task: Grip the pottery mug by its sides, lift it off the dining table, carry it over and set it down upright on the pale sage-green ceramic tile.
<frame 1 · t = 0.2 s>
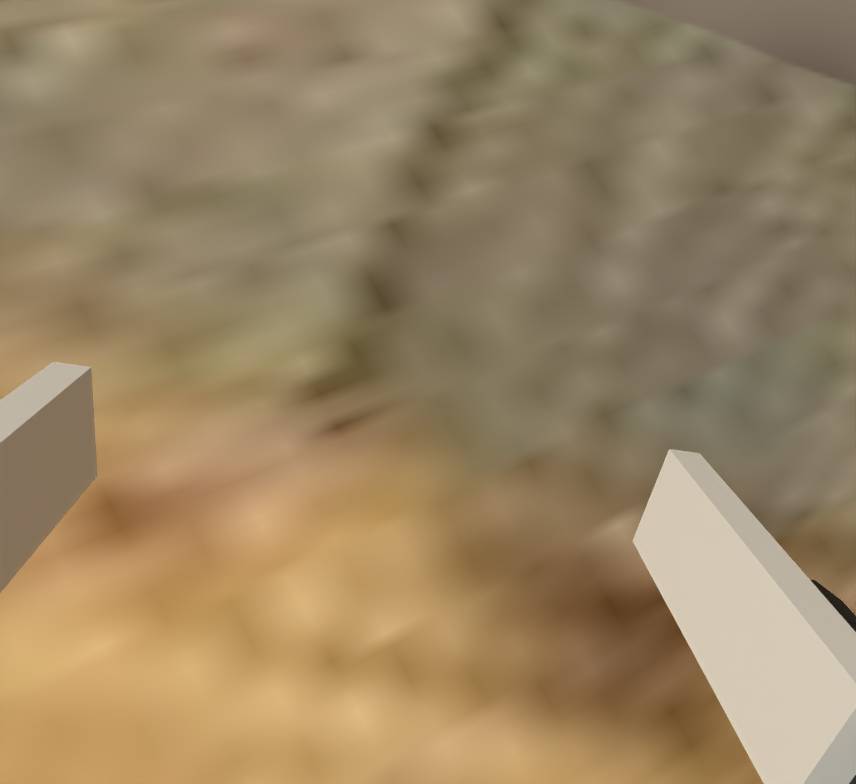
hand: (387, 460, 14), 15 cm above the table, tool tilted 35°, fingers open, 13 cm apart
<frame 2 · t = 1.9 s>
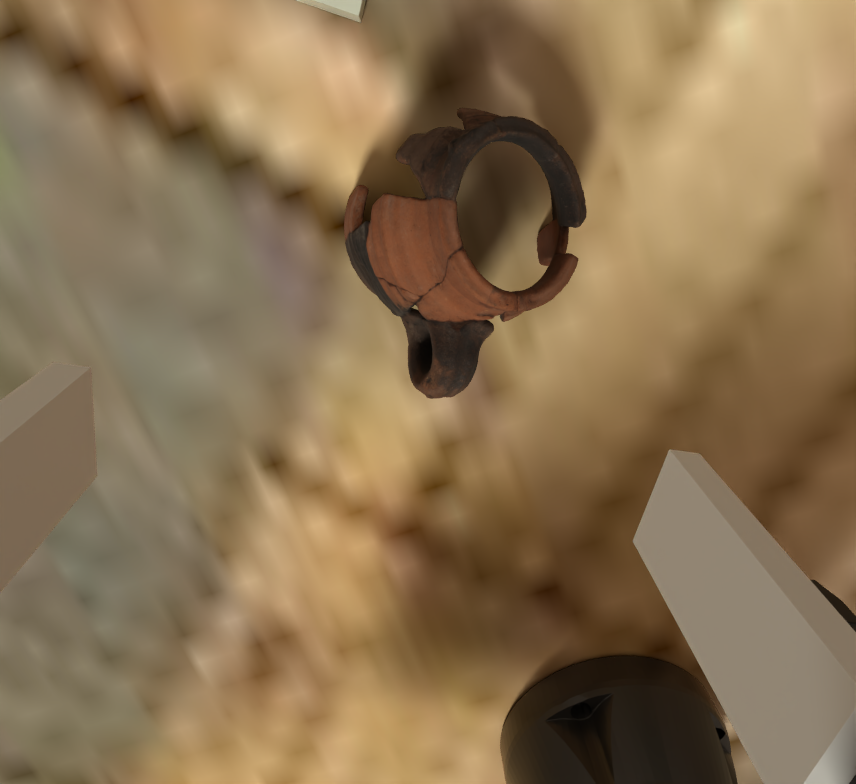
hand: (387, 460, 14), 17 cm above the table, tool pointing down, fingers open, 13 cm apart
pottery mug: (447, 247, 29), on the table
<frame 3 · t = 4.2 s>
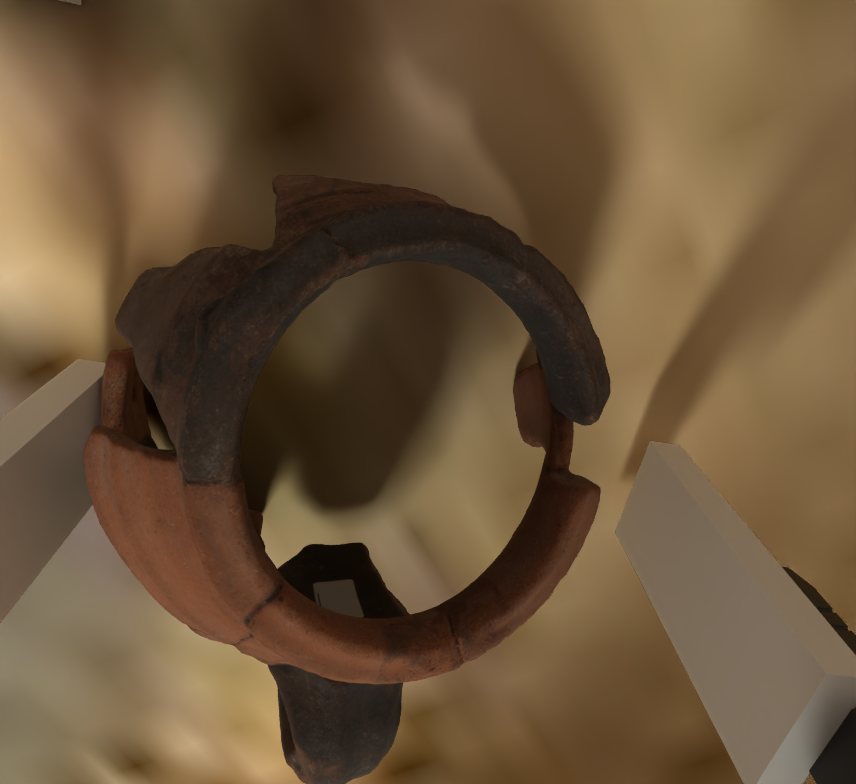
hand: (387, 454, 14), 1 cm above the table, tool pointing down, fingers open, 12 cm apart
pottery mug: (342, 417, 15), on the table, touching gripper
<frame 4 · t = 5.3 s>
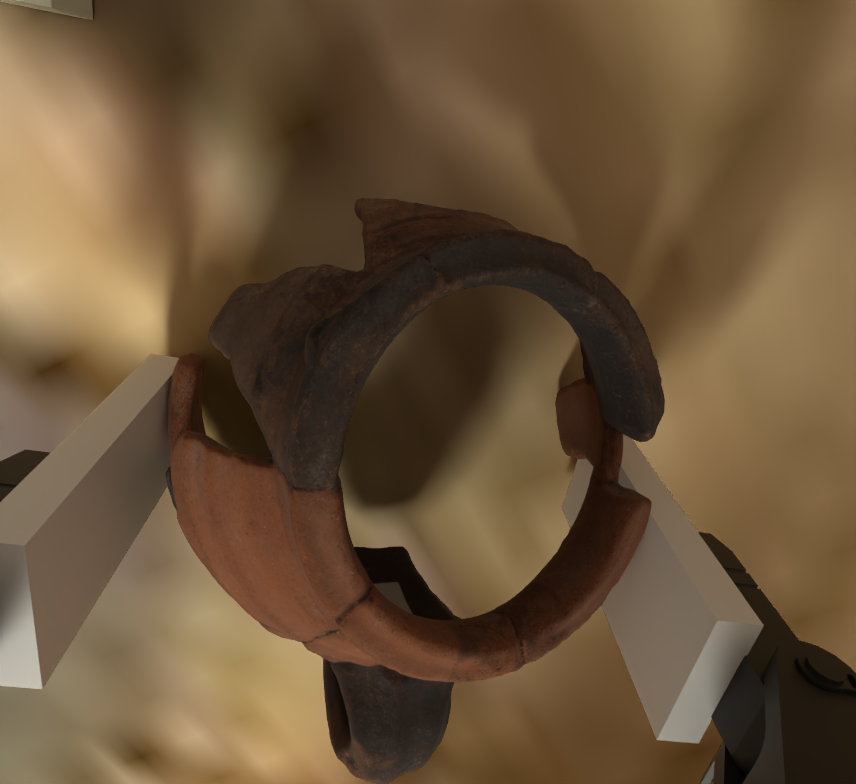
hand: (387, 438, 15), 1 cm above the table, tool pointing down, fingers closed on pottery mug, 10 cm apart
pottery mug: (388, 425, 16), on the table, touching gripper
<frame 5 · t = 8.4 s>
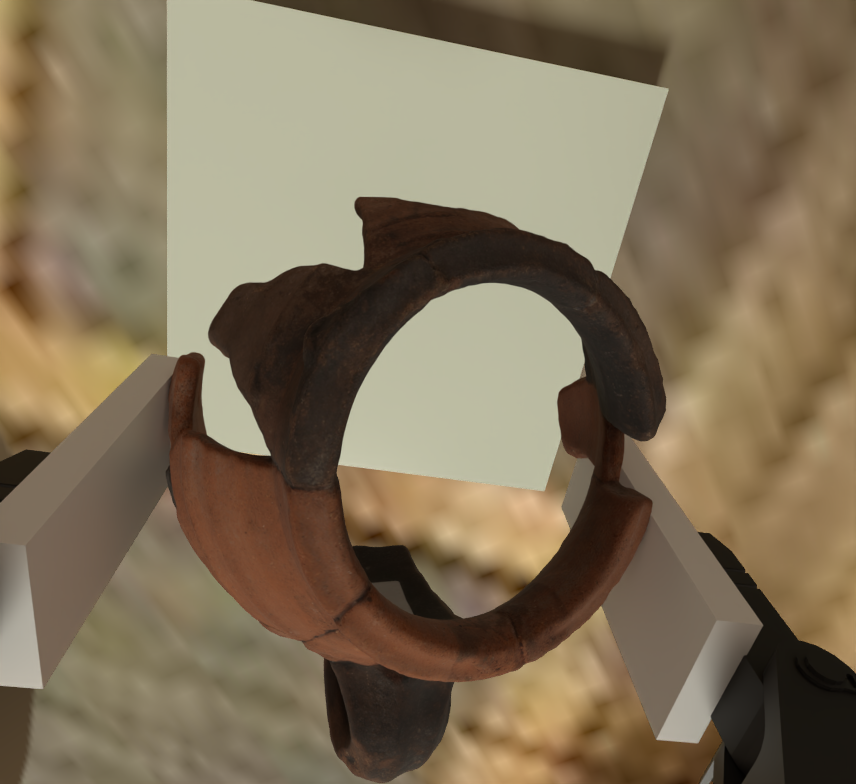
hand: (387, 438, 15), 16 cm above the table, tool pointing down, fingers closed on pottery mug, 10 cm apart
pottery mug: (389, 423, 16), point 15 cm above the table, touching gripper
sage tile: (391, 276, 29), on the table
when the fingers open (3 cm above the table, at t = 11.7 s): pottery mug stays where it is, resting on sage tile.
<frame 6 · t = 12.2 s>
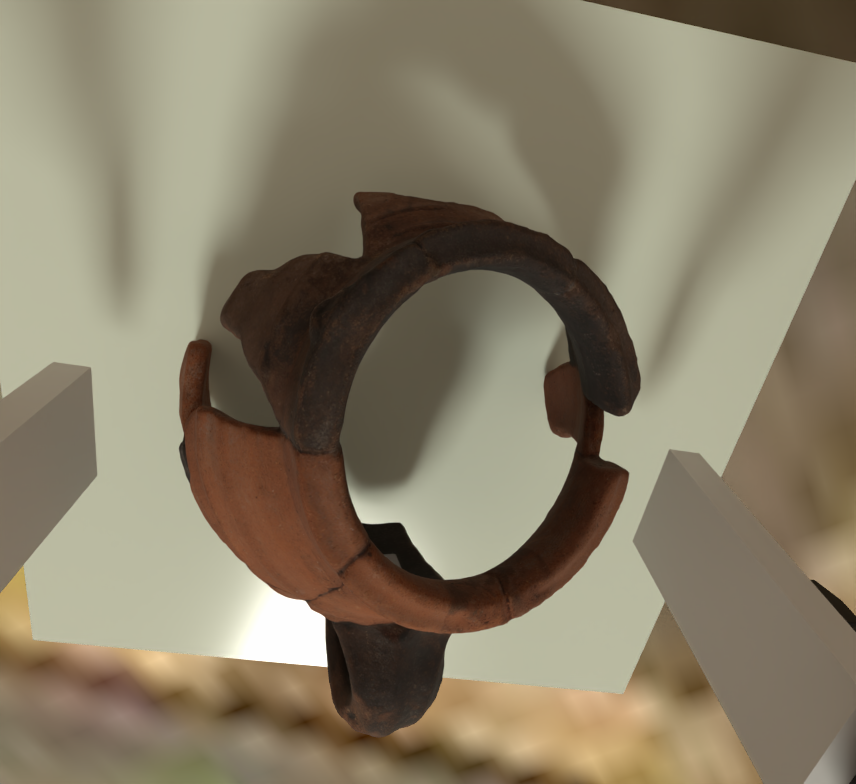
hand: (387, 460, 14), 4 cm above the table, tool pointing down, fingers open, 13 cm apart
pottery mug: (385, 407, 17), point 1 cm above the table, touching sage tile
sage tile: (389, 385, 18), on the table
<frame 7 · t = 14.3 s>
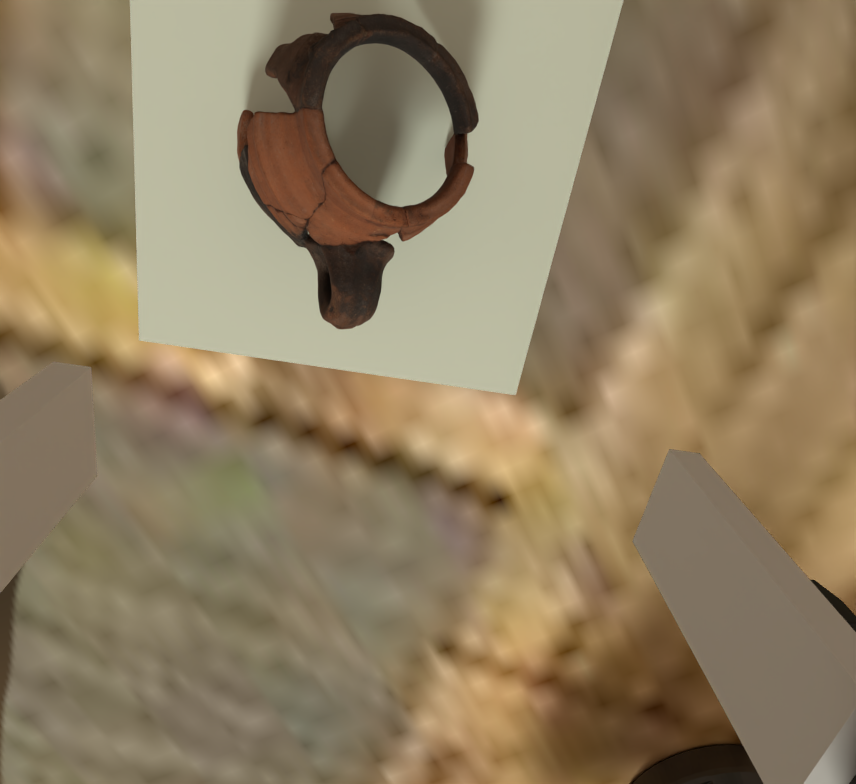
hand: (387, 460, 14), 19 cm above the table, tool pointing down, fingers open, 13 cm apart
pottery mug: (353, 172, 28), point 1 cm above the table, touching sage tile
sage tile: (360, 169, 29), on the table
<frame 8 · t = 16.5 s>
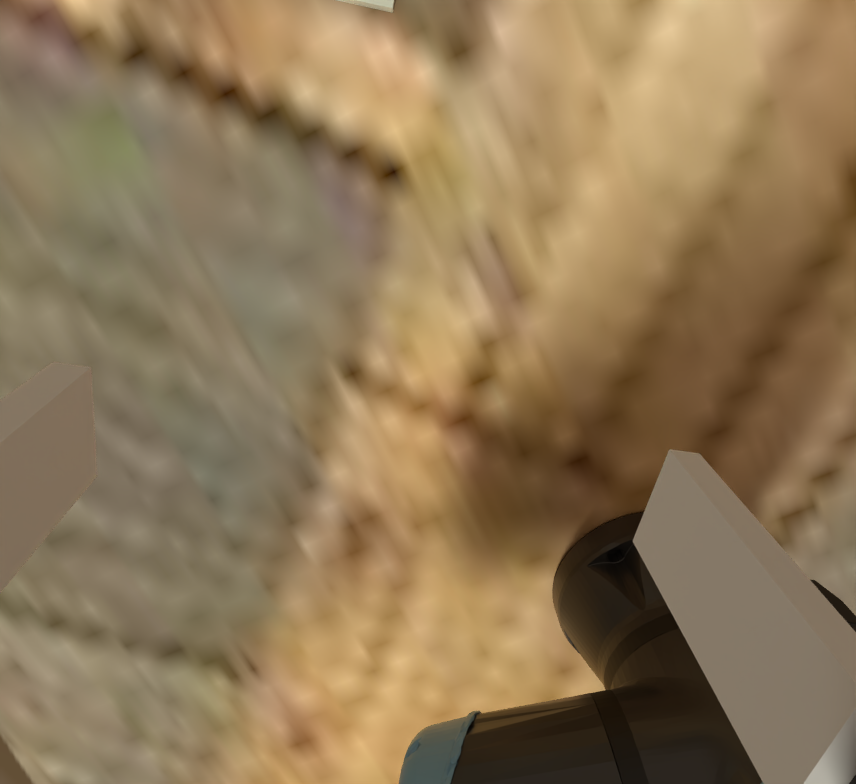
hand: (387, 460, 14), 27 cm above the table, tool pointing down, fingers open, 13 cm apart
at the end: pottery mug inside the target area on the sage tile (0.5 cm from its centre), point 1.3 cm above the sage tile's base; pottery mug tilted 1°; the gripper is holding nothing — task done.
